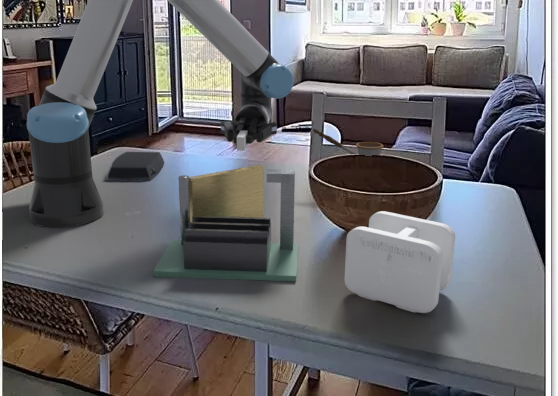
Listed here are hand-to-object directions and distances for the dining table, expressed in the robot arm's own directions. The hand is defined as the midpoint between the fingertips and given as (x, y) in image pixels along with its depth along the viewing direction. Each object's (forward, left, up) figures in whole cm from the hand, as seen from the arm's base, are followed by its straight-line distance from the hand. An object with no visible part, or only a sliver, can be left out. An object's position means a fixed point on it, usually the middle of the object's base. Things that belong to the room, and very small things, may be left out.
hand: (240, 143), depth 119 cm
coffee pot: (+29, +18, -18) cm, 38 cm away
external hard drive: (-22, +48, -18) cm, 55 cm away
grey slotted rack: (-4, -18, -17) cm, 25 cm away
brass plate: (-4, -6, -16) cm, 18 cm away
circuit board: (-5, -18, -17) cm, 25 cm away
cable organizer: (+20, -35, -18) cm, 44 cm away
